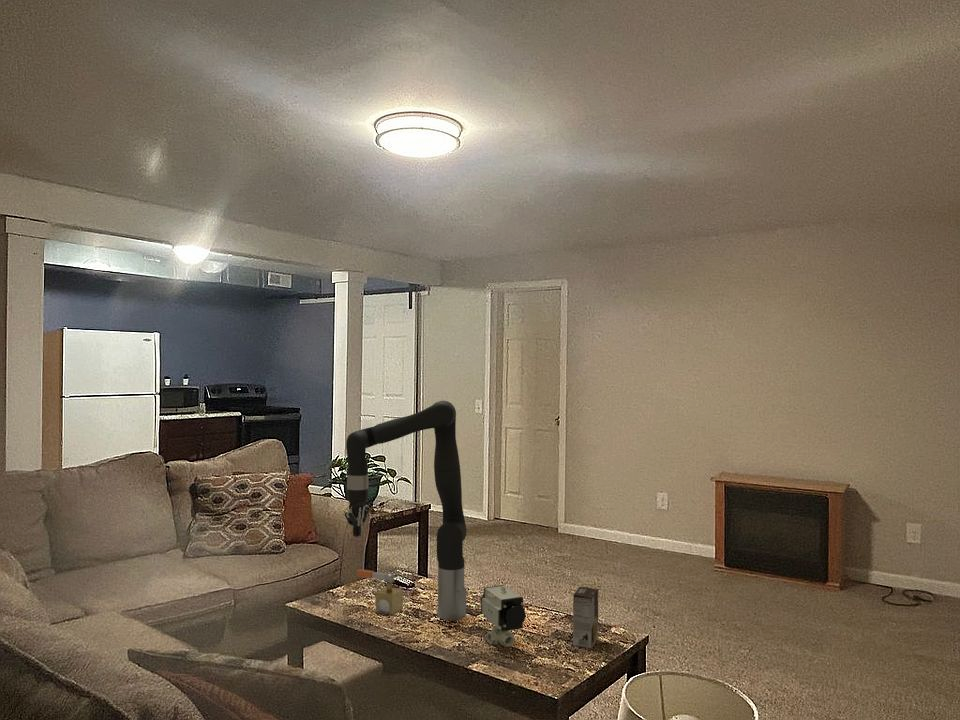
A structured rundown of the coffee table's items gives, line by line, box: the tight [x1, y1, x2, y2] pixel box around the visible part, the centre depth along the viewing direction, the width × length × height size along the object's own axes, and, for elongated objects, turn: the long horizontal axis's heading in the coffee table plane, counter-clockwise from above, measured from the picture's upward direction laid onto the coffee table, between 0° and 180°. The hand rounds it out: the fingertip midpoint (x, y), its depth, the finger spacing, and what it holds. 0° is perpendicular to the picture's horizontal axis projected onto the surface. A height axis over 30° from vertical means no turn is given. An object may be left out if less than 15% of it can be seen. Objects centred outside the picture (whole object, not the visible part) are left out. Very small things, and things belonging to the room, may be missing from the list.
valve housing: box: [374, 582, 404, 616], centre depth 253 cm, size 7×9×10 cm
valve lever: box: [356, 568, 395, 583], centre depth 255 cm, size 15×3×2 cm, turn 66°
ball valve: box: [480, 584, 526, 648], centre depth 225 cm, size 18×8×18 cm, turn 25°
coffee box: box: [572, 586, 599, 649], centre depth 227 cm, size 9×6×16 cm
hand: (357, 536), depth 252 cm, fingers closed
